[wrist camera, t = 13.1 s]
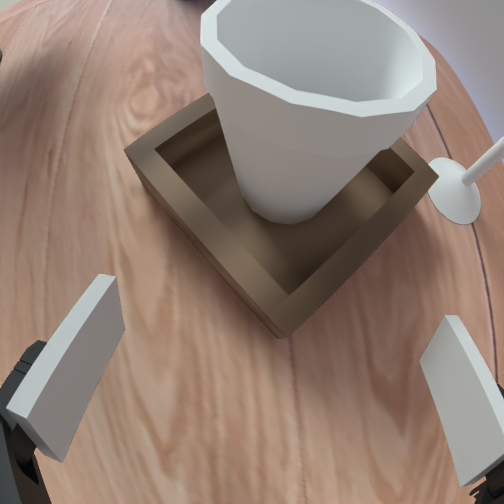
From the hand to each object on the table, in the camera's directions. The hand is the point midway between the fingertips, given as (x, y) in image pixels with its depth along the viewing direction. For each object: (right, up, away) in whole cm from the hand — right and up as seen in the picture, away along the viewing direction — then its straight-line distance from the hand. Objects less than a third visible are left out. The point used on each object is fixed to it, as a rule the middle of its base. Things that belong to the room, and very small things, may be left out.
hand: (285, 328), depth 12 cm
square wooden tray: (+1, +8, +11) cm, 14 cm away
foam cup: (+1, +8, +11) cm, 13 cm away
